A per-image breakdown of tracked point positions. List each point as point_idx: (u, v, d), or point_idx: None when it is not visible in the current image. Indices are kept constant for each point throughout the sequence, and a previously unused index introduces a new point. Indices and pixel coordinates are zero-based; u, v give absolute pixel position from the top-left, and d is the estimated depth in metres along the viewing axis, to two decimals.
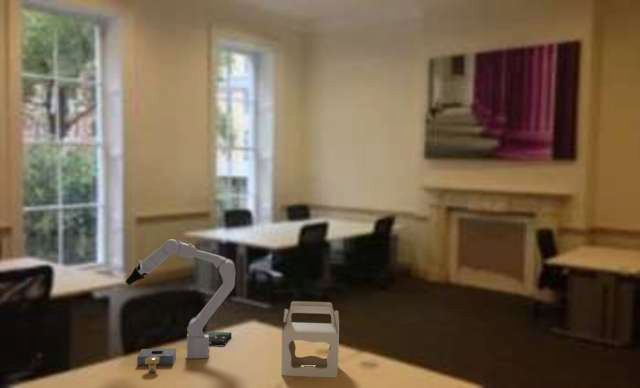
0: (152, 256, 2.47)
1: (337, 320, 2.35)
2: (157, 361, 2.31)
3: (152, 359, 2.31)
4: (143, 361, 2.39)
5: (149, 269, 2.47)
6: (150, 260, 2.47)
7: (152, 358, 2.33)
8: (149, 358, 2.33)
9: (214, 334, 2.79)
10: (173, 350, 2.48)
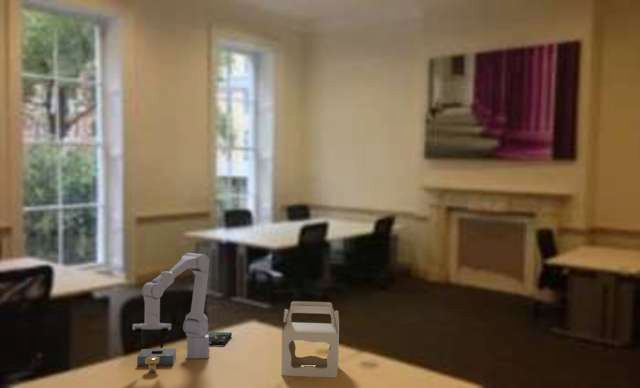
0: (152, 312, 2.29)
1: (337, 320, 2.35)
2: (157, 361, 2.31)
3: (152, 359, 2.31)
4: (143, 361, 2.39)
5: None
6: (158, 315, 2.31)
7: (152, 358, 2.33)
8: (149, 358, 2.33)
9: (214, 334, 2.79)
10: (173, 350, 2.48)
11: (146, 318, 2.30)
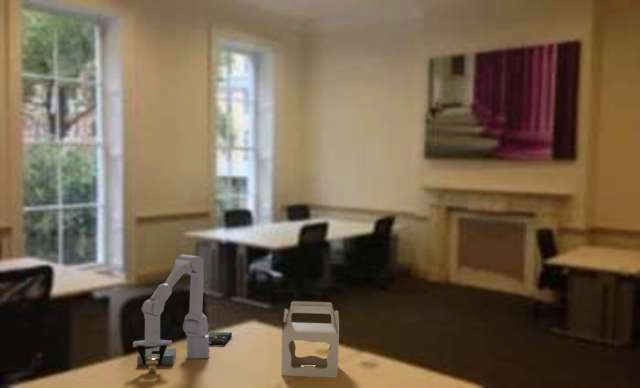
0: (153, 329, 2.29)
1: (337, 320, 2.35)
2: (157, 361, 2.31)
3: (152, 359, 2.31)
4: None
5: None
6: (159, 332, 2.31)
7: (152, 358, 2.33)
8: (149, 358, 2.33)
9: (214, 334, 2.79)
10: (173, 350, 2.48)
11: (146, 335, 2.30)
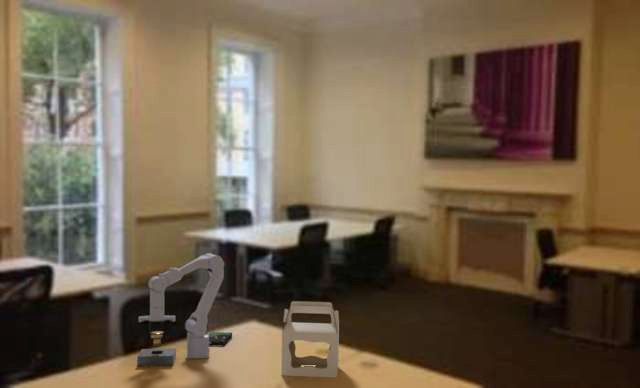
0: (154, 305, 2.40)
1: (337, 320, 2.35)
2: (161, 335, 2.42)
3: (157, 333, 2.43)
4: (143, 361, 2.39)
5: None
6: (163, 307, 2.43)
7: (156, 332, 2.44)
8: (153, 332, 2.44)
9: (215, 334, 2.79)
10: (173, 350, 2.48)
11: (151, 310, 2.41)
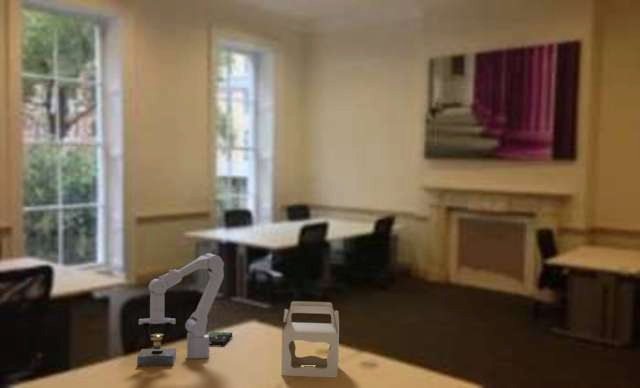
0: (154, 307, 2.41)
1: (337, 320, 2.35)
2: (161, 338, 2.43)
3: (157, 336, 2.43)
4: (143, 361, 2.39)
5: None
6: (163, 310, 2.43)
7: (156, 335, 2.45)
8: (153, 335, 2.44)
9: (215, 334, 2.79)
10: (173, 350, 2.48)
11: (151, 313, 2.41)
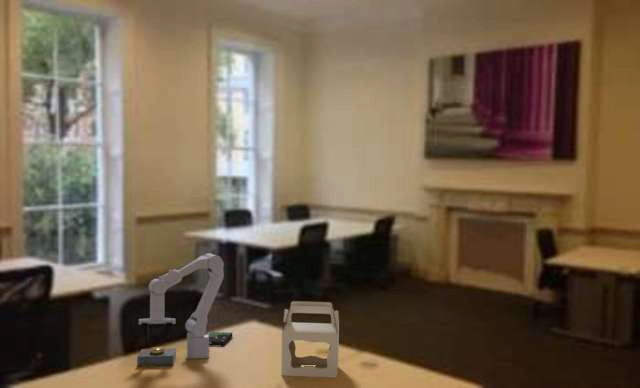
0: (154, 307, 2.41)
1: (337, 320, 2.35)
2: (161, 351, 2.43)
3: (157, 349, 2.43)
4: (143, 361, 2.39)
5: None
6: (163, 310, 2.43)
7: (156, 348, 2.45)
8: (153, 348, 2.44)
9: (215, 334, 2.79)
10: (173, 350, 2.48)
11: (151, 313, 2.41)
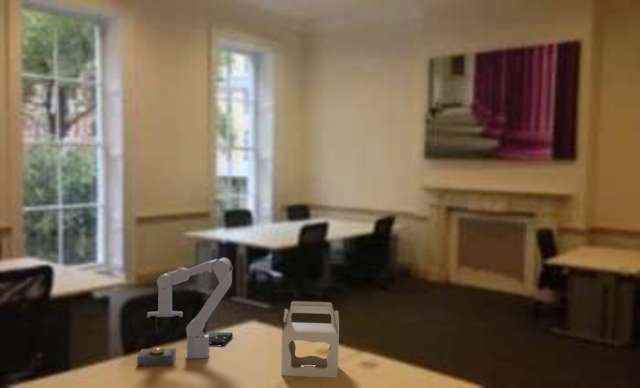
0: (159, 300, 2.50)
1: (337, 320, 2.35)
2: (161, 351, 2.43)
3: (157, 349, 2.43)
4: (143, 361, 2.39)
5: None
6: (171, 303, 2.52)
7: (156, 348, 2.45)
8: (153, 348, 2.44)
9: (215, 334, 2.79)
10: (173, 350, 2.48)
11: (160, 306, 2.50)
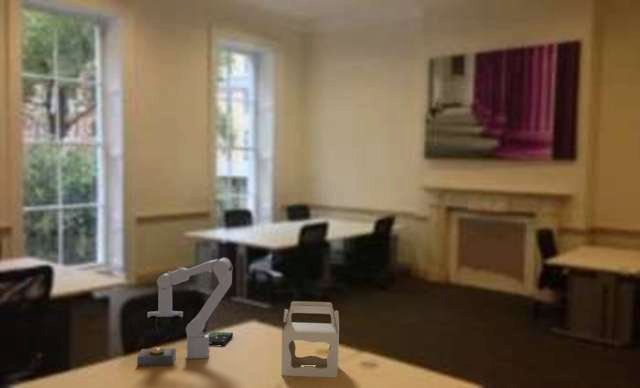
0: (159, 300, 2.51)
1: (337, 320, 2.35)
2: (161, 351, 2.43)
3: (157, 349, 2.43)
4: (143, 361, 2.39)
5: None
6: (171, 303, 2.52)
7: (156, 348, 2.45)
8: (153, 348, 2.44)
9: (215, 334, 2.79)
10: (173, 350, 2.48)
11: (160, 306, 2.50)
